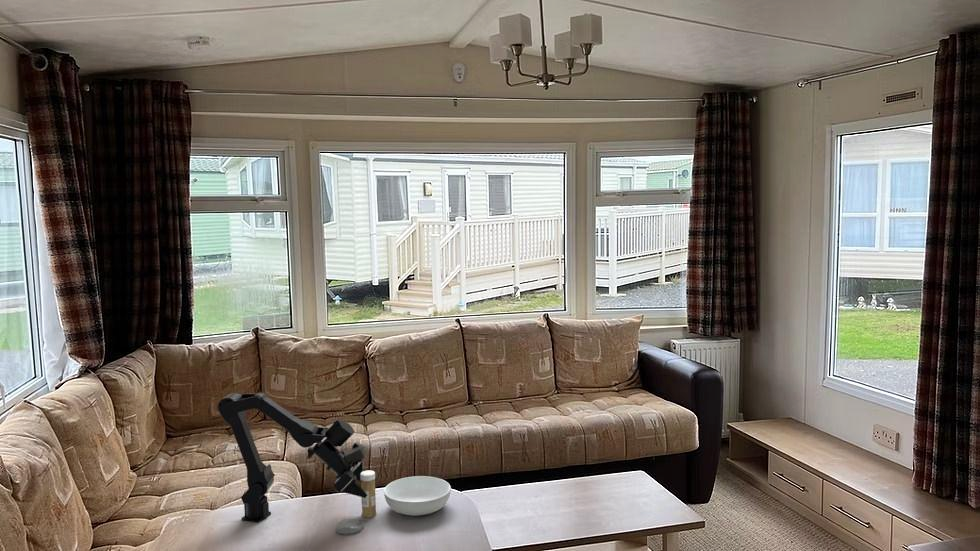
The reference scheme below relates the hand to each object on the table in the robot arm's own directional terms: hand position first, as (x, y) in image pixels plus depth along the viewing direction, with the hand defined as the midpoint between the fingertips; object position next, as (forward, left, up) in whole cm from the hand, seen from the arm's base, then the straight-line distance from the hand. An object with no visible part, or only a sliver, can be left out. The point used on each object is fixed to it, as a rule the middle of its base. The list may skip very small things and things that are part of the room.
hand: (368, 490), depth 207 cm
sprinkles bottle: (0, 0, -8) cm, 8 cm away
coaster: (-1, -10, -8) cm, 13 cm away
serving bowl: (+13, +8, -8) cm, 17 cm away
